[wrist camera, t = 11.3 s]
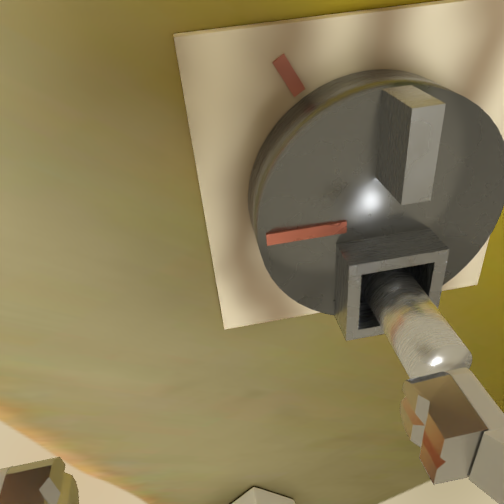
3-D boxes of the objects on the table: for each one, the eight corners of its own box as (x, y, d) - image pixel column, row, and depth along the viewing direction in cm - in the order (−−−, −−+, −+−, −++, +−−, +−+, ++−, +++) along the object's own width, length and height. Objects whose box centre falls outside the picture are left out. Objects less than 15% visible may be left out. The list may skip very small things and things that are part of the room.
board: (538, -12, 27) (554, -11, 26) (469, 276, 39) (478, 286, 38) (173, 33, 25) (173, 37, 24) (222, 319, 38) (224, 331, 36)
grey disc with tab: (495, 52, 27) (591, 82, 21) (451, 264, 36) (510, 328, 30) (235, 88, 26) (256, 131, 20) (258, 297, 35) (277, 371, 29)
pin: (409, 254, 30) (478, 340, 23) (403, 294, 31) (465, 383, 25) (360, 262, 29) (415, 351, 23) (357, 301, 31) (407, 394, 25)
